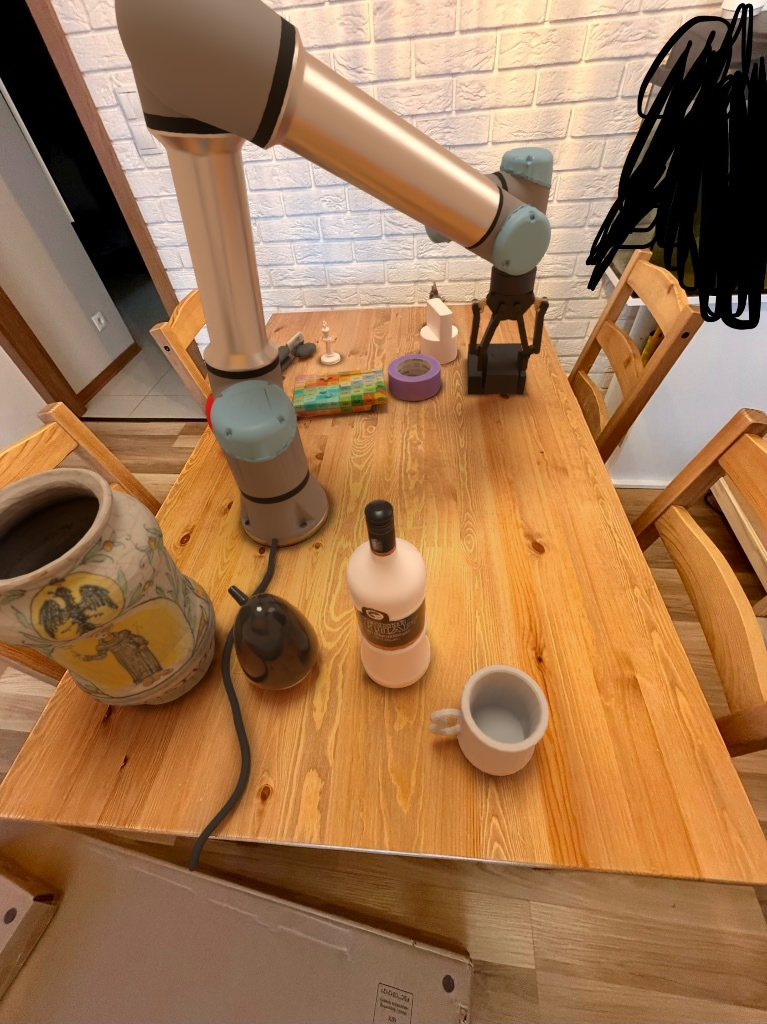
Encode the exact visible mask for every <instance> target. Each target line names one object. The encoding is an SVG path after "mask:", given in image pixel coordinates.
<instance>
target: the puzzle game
mask: <svg viewBox="0 0 767 1024" xmlns="http://www.w3.org/2000/svg"><path fill="white" fill-rule="evenodd" d="M384 373H385V372H384V367H381V368H380V367H379V368H369V369H357V370H347V371H336V372H326V373H313V374H303V375H297V376H295V378H294V388H293V396H292V397H293V398H292V404H293V406H294V409H295V412H296V415H297V416H299V417H301V418H307V417H317V416H327V415H335V414H337V415H338V414H347V413H355V412H367V411H370V410H371V409H372V406H374V405H383V404H385V403H388V397H387V389H386V381H385V374H384Z"/></svg>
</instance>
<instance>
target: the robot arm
mask: <svg viewBox="0 0 767 1024" xmlns="http://www.w3.org/2000/svg"><path fill="white" fill-rule="evenodd" d="M114 12H115V21H116V25H117V31H118V34H119V37H120V40H121V43H122V46H123V49H124V52H125V54H126V56H127V58H128V61H129V63H130V67H131V70H132V74H133V78H134V83H135V86H136V90H137V95H138V99H139V102H140V103H139V104H140V106H141V107H140V108H141V110H142V114H143V118H144V122H145V127H146V130H147V131H148V132H149V133H150V134H151V135H152V136H153V137H154V138H155V139H156V140H157V141H158V142H159V143H160V144H161V145H162V146H163V147H164V149H165V150H166V155H167V159H168V165H169V169H170V173H171V179H172V182H173V186H174V191H175V195H176V199H177V203H178V206H179V212H180V217H181V221H182V225H183V229H184V233H185V237H186V238H185V239H186V242H187V243H186V244H187V246H188V250H189V255H190V259H191V264H192V268H193V269H192V270H193V273H194V277H195V282H196V287H197V290H198V294H199V300H200V303H201V308H202V312H203V317H204V320H205V321H204V322H205V325H206V328H207V334H208V338H209V343H208V344H207V345H206V347H205V348H204V350H203V352H202V357H203V361H204V365H205V369H206V374H207V377H208V378H207V379H208V382H209V386H210V392H211V393H212V395H213V399H214V403H213V405H212V408H211V414H210V416H211V423H212V429H213V432H212V434H213V433H214V434H213V436H214V438H215V440H216V441H217V442H218V445H219V447H220V448H221V451H222V453H223V455H224V457H225V459H226V462H227V464H228V467H229V469H230V471H231V473H232V476H233V479H234V481H235V483H236V486H237V487H238V489H239V493H240V498H239V499H240V500H239V501H240V502H239V504H240V505H239V516H240V521H241V524H242V527H243V529H244V530H245V533H246V535H247V536H248V537H249V538H250V539H251V540H252V541H254V542H256V543H258V544H259V545H262V546H266V547H267V546H268V547H270V550H269V555H268V564H267V569H266V573H265V575H264V577H263V579H262V581H261V582H260V583H259V585H258V587H256V589H255V590H254V591H253V593H252V594H251V595H250V596H249V598H250V597H252V596H254V595H257V594H261V593H263V592H264V590H265V589H266V587H267V586H268V584H269V582H270V581H271V578H272V577H273V576H272V575H273V573H274V568H275V561H276V553H277V549H278V548H280V547H281V548H282V547H289V546H292V545H296V544H298V543H299V544H300V543H302V542H303V541H306V540H307V539H309V538H311V537H312V536H314V535H315V534H316V533H317V532H319V530H321V528H322V527H323V526H324V524H325V523H326V520H327V519H328V516H329V511H330V507H329V506H330V504H329V500H328V496H327V493H326V491H325V489H324V488H323V486H322V485H321V484H320V483H319V481H318V480H317V479H316V478H315V476H314V475H313V474H312V472H311V471H310V468H309V464H308V460H307V456H306V452H305V449H304V445H303V441H302V437H301V433H300V429H299V425H298V417H297V416H298V415H297V414H296V412H295V409H294V406H293V402H292V401H291V398H290V396H289V395H288V394H287V392H286V391H285V388H284V382H283V376H282V373H281V367H280V359H279V351H278V348H279V347H278V345H277V344H276V343H275V342H274V341H273V340H271V339H270V338H268V337H267V328H266V320H265V313H264V305H263V298H262V292H261V284H260V283H261V282H260V275H259V268H258V262H257V255H256V248H255V247H256V246H255V241H254V233H253V224H252V218H251V212H250V204H249V197H248V196H249V194H248V189H247V181H246V173H245V167H244V160H243V152H242V150H243V147H244V145H245V143H246V142H247V141H248V142H250V144H253V145H254V146H257V147H259V148H261V149H262V150H265V151H267V150H269V149H271V148H273V147H275V146H281V147H283V148H285V149H287V150H288V151H290V152H292V153H294V154H295V155H298V156H300V157H301V158H303V159H305V160H306V161H308V162H310V163H312V164H314V166H317V167H318V168H321V169H322V170H324V171H326V172H328V173H330V174H332V175H333V176H335V177H337V178H339V179H341V180H342V181H344V182H345V183H348V184H350V185H351V186H353V187H355V188H357V189H358V190H360V191H362V192H364V193H365V194H367V195H370V196H371V197H373V198H375V199H376V200H379V201H380V202H382V203H384V204H386V205H388V206H389V207H391V208H393V209H394V210H396V211H398V212H399V213H402V214H403V215H405V216H407V217H409V218H410V219H412V220H413V221H416V222H418V223H420V225H421V224H422V225H423V227H424V229H425V232H426V235H427V237H428V238H429V241H431V242H432V243H434V244H443V243H447V244H450V243H451V242H454V243H455V244H458V245H459V246H461V247H463V248H464V249H466V250H467V251H469V252H470V253H473V254H474V255H476V256H477V257H480V258H482V260H484V261H487V262H488V263H490V264H491V265H492V266H491V270H490V279H489V280H490V281H489V290H488V292H487V294H486V296H485V297H484V298H480V299H477V298H473V299H472V300H471V311H472V319H471V320H472V321H471V327H470V328H471V329H470V335H469V341H468V342H469V343H468V344H469V354H470V355H476V356H477V371H482V374H481V388H485V381H486V371H487V363H488V353H487V352H486V351H487V349H488V346H489V344H491V342H492V339H493V337H494V336H495V332H496V331H497V328H498V327H499V325H500V323H501V322H504V321H516V324H517V329H518V334H519V341H520V343H521V346H522V351H518V356H517V367H518V373H519V376H518V382H517V388H519V382H520V375H521V371H526V372H527V369H528V365H529V360H530V358H531V355H538V354H540V353H541V348H542V340H543V331H544V330H543V329H544V322H545V315H546V314H547V311H548V309H549V307H550V303H549V298H548V297H547V296H542V297H539V296H536V295H535V293H534V292H535V291H534V289H535V283H536V277H537V272H538V271H537V270H538V267H537V266H538V265H539V263H541V261H542V259H543V258H544V257H545V254H547V251H548V249H549V247H550V243H551V238H552V228H551V223H550V220H549V219H548V217H547V216H546V215H547V209H548V204H549V199H550V192H551V189H552V180H553V171H554V155H553V153H552V151H550V150H549V149H547V148H545V147H540V146H539V147H538V146H524V147H516V148H513V149H510V150H507V151H505V153H503V155H502V157H501V161H500V165H499V170H497V171H493V172H491V173H486V174H484V173H482V172H480V171H479V170H477V169H476V168H475V167H473V166H472V165H470V164H469V163H467V162H466V161H465V160H463V159H462V158H461V157H459V156H458V155H457V154H455V153H453V152H451V151H450V150H449V149H447V148H446V147H444V146H443V145H441V144H440V143H439V142H437V140H434V139H433V138H432V137H430V136H428V135H427V134H426V133H424V132H423V131H422V130H420V129H419V128H417V127H416V126H414V125H413V124H412V123H411V122H408V121H407V120H405V118H403V117H401V116H400V115H399V114H397V113H396V112H394V111H393V110H391V109H390V108H389V107H387V106H385V105H384V104H383V103H382V102H380V101H378V100H377V99H375V98H374V97H373V96H372V95H369V93H367V92H366V91H364V90H363V89H362V88H359V87H358V86H357V85H355V84H354V83H353V82H351V81H350V80H348V79H347V78H345V77H344V76H343V75H341V74H340V73H339V72H337V71H335V70H334V69H333V68H331V67H330V66H328V65H327V64H325V63H324V62H323V61H322V60H319V59H318V58H316V57H315V56H314V55H313V54H311V53H310V52H309V51H308V50H307V51H306V49H305V47H304V44H303V40H302V37H301V34H300V31H299V29H298V27H297V26H295V25H294V24H293V23H291V22H290V21H289V20H287V19H286V18H284V17H283V16H282V15H280V14H279V13H277V12H276V11H275V10H273V8H271V7H270V6H268V4H266V3H264V1H263V0H114ZM533 305H534V306H533ZM486 306H487V307H488V309H489V310H490V312H491V316H490V319H489V322H488V324H487V326H486V329H485V331H484V333H483V335H482V338H481V341H480V342H479V344H480V345H479V346H476V345H477V344H478V339H479V338H478V337H479V331H480V323H481V314H482V313H484V312H485V308H486ZM532 306H533V308H534V311H535V317H534V326H533V336H532V344H529V340H528V335H527V330H526V324H525V317H524V315H525V314H526V313H527V311H528V310H529V309H530V308H531V307H532ZM277 547H278V548H277ZM233 643H234V623H233V624H232V626H231V628H230V630H229V633H228V635H227V637H226V640H225V642H224V647H223V650H222V656H221V676H222V683H223V686H224V689H225V692H226V694H227V699H228V701H229V705H230V709H231V714H232V719H233V720H232V721H233V724H234V728H235V732H236V736H237V740H238V743H239V748H240V754H241V765H240V766H241V767H240V773H239V777H238V781H237V783H236V786H235V789H234V791H232V794H231V796H230V797H229V799H228V800H227V801H226V803H225V804H224V805H223V806H222V807H221V809H220V810H219V811H218V812H217V814H215V816H213V818H212V819H211V820H210V821H209V823H208V824H207V825H206V826H205V827H204V829H203V831H202V832H201V833H200V834H199V836H198V838H197V839H196V840H195V843H194V845H193V847H192V850H191V853H190V856H189V859H188V871H189V872H191V873H192V872H194V871H196V870H197V868H198V865H199V860H200V856H201V852H202V851H203V848H204V847H205V844H206V842H207V841H208V840H209V838H210V837H211V835H212V834H213V833H214V831H215V830H216V829H217V828H218V826H219V825H220V824H221V823H222V822H223V821H224V819H226V817H227V816H228V815H229V814H230V813H231V811H232V810H233V809H234V807H235V806H236V804H237V803H238V801H239V799H240V798H241V796H242V794H243V792H244V790H245V788H246V785H247V782H248V777H249V774H250V773H249V772H250V765H251V755H250V747H249V741H248V737H247V734H246V732H245V731H246V730H245V727H244V724H243V719H242V714H241V709H240V705H239V701H238V696H237V694H236V691H235V689H234V686H233V683H232V679H231V674H230V654H231V649H232V645H233Z"/></svg>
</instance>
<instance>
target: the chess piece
mask: <svg viewBox="0 0 767 1024" xmlns="http://www.w3.org/2000/svg"><path fill="white" fill-rule="evenodd" d="M322 323H323V324H322V328H321V333H322V335H323V338H322V341H323V342H325V353H324V354H322V355H321V357H320V362H321V364H323V365H327V366H331V365H335V364H338V363H339V362H340V361H341V355H340V353H338V352H335V351H333V348H332V345H331V340H332V337H331V335H330V332H331V327H328V326H327V325H328V322H327V321H326V320H322Z"/></svg>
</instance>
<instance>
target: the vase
mask: <svg viewBox="0 0 767 1024" xmlns="http://www.w3.org/2000/svg"><path fill="white" fill-rule="evenodd" d="M215 634H216V613H215V608H214V605H213V601H212V600H211V597H210V596H209V594H208V592H207V591H206V590H205V589H204V587H202V585H201V584H199V583H198V582H197V581H196V580H195V579H193V578H191V577H190V576H188V575H186V574H184V573H182V571H181V570H180V568H179V567H178V565H177V564H176V562H175V561H174V559H173V556H172V555H171V554H170V552H169V551H168V549H167V547H166V546H165V543H164V534H163V530H162V529H161V526H160V524H159V521H158V520H157V518H156V517H155V515H154V514H153V512H152V511H151V510H150V509H149V508H148V507H147V506H146V505H145V504H144V503H142V502H141V501H139V499H137V498H135V497H134V496H132V495H130V494H128V493H125V492H122V491H119V490H116V489H112V488H111V486H110V485H109V483H108V481H107V480H106V479H105V478H104V477H102V475H101V474H99V473H98V472H95V471H93V470H90V469H85V468H81V467H80V468H79V467H59V468H53V469H48V470H42V471H39V472H36V473H33V474H30V475H26V476H24V477H22V478H20V479H18V480H16V481H13V482H11V483H9V484H7V485H4V486H3V487H2V488H1V489H0V642H1V643H4V644H6V645H9V646H13V647H18V648H22V649H33V650H35V651H36V652H39V654H41V655H43V656H45V657H46V658H48V659H49V660H51V661H53V662H54V663H56V664H58V665H60V666H61V667H63V668H64V669H66V670H67V671H68V673H69V675H70V677H71V678H72V680H73V682H74V683H75V685H76V686H77V687H78V688H79V689H80V690H81V691H82V692H83V693H85V694H86V695H87V696H89V698H91V699H92V700H94V701H96V702H99V703H101V704H104V705H108V706H109V705H110V706H114V707H115V706H116V707H132V706H140V705H144V704H146V705H162V704H166V703H169V702H172V701H175V700H177V699H178V698H180V697H181V696H184V695H185V694H187V693H188V692H190V691H191V690H193V688H194V687H195V686H196V685H197V684H199V682H200V681H201V680H202V679H203V677H204V676H206V674H207V672H208V670H209V668H210V666H211V664H212V662H213V659H214V656H215V655H214V654H215V647H216V642H215V641H216V640H215Z"/></svg>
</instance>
